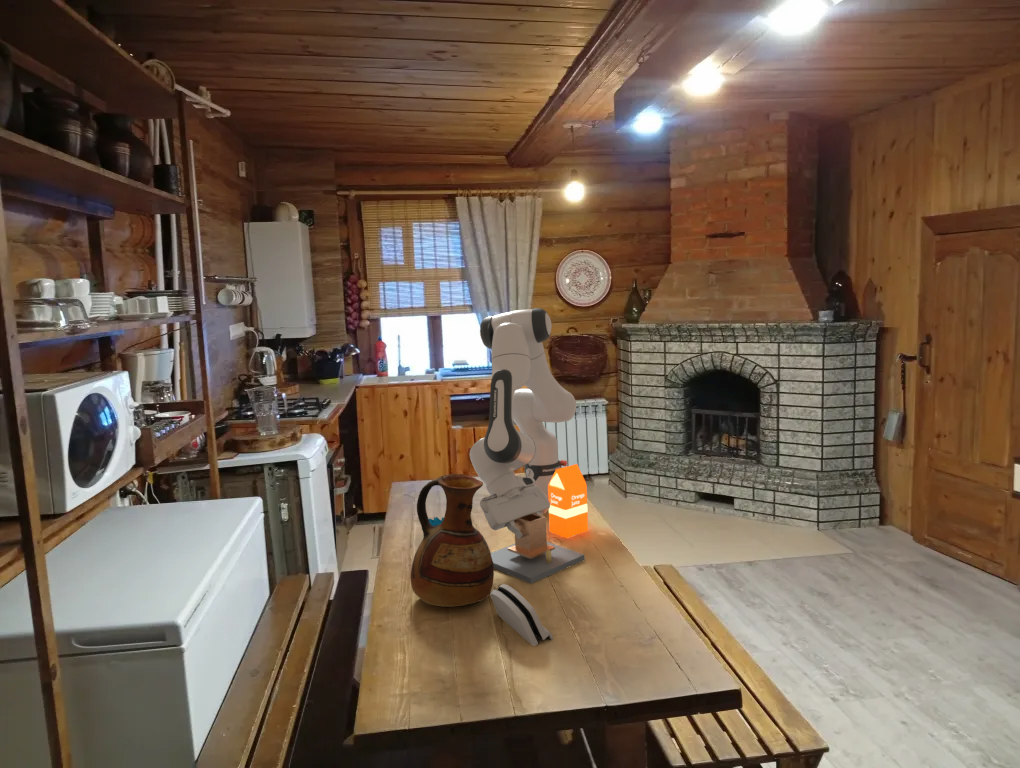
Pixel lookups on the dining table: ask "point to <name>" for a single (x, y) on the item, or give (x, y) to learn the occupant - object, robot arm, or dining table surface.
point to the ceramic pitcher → (452, 549)
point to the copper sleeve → (531, 537)
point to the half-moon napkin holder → (519, 614)
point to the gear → (435, 521)
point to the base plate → (535, 562)
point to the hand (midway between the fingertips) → (532, 533)
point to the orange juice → (568, 502)
